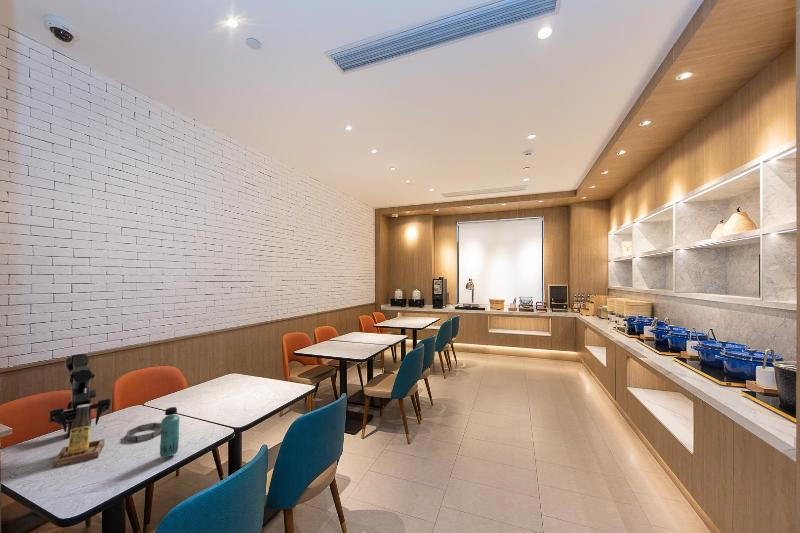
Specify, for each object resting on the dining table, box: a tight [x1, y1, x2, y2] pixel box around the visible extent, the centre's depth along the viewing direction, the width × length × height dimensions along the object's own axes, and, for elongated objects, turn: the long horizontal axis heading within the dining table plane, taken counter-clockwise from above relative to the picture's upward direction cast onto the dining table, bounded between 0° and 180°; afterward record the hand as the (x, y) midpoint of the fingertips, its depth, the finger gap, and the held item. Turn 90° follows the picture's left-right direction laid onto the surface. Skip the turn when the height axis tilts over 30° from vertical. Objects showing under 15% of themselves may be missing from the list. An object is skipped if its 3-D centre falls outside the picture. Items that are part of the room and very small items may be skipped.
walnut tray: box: [52, 438, 105, 469], centre depth 133 cm, size 13×13×2 cm
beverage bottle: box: [159, 406, 181, 458], centre depth 133 cm, size 6×7×20 cm
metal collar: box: [125, 421, 162, 443], centre depth 152 cm, size 14×14×2 cm
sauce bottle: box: [67, 403, 92, 457], centre depth 134 cm, size 7×6×20 cm
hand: (81, 427), depth 134 cm, fingers open, 9 cm apart
